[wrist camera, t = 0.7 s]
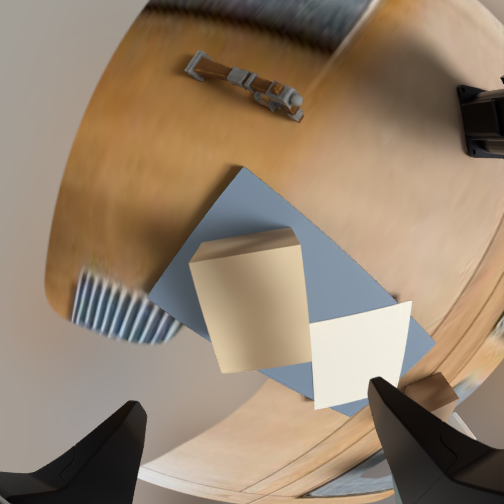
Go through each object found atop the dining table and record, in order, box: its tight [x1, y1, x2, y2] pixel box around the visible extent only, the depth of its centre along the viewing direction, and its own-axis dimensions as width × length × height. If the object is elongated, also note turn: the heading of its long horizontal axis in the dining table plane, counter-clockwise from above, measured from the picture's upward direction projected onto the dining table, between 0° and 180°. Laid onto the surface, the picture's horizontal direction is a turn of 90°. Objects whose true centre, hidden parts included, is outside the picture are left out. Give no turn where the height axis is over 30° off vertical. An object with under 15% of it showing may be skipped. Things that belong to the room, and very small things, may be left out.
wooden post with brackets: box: [184, 50, 304, 123], centre depth 15 cm, size 2×8×4 cm, turn 59°
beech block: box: [189, 227, 312, 373], centre depth 17 cm, size 6×8×4 cm
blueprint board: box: [147, 167, 436, 417], centre depth 21 cm, size 25×14×1 cm, turn 51°
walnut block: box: [404, 372, 459, 423], centre depth 23 cm, size 5×6×5 cm
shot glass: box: [447, 412, 477, 440], centre depth 25 cm, size 7×7×7 cm
